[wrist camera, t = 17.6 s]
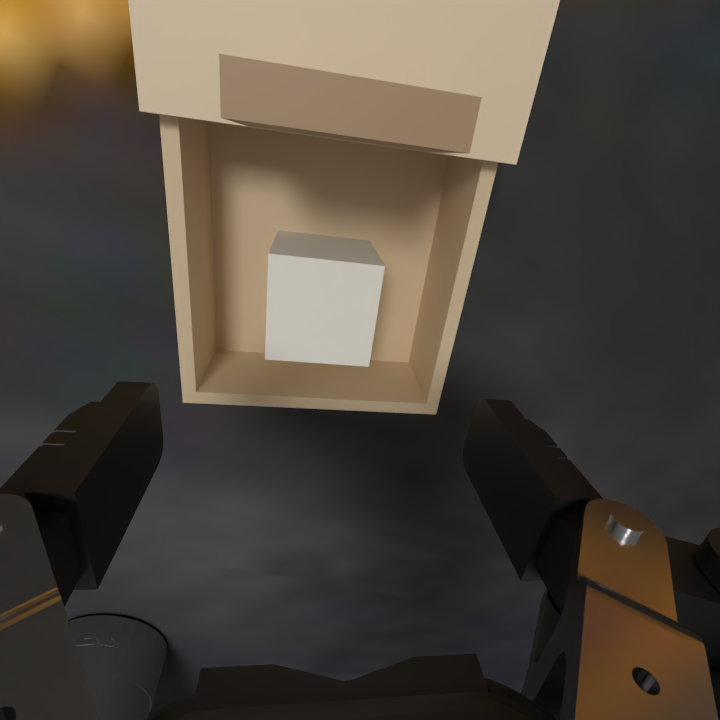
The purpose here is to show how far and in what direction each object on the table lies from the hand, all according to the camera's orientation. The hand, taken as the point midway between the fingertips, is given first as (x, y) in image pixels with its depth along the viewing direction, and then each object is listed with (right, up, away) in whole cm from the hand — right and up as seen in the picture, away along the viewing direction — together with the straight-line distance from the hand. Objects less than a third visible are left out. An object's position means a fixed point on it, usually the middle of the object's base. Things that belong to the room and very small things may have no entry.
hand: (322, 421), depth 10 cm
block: (-1, +6, +11) cm, 12 cm away
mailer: (-1, +9, +10) cm, 13 cm away
